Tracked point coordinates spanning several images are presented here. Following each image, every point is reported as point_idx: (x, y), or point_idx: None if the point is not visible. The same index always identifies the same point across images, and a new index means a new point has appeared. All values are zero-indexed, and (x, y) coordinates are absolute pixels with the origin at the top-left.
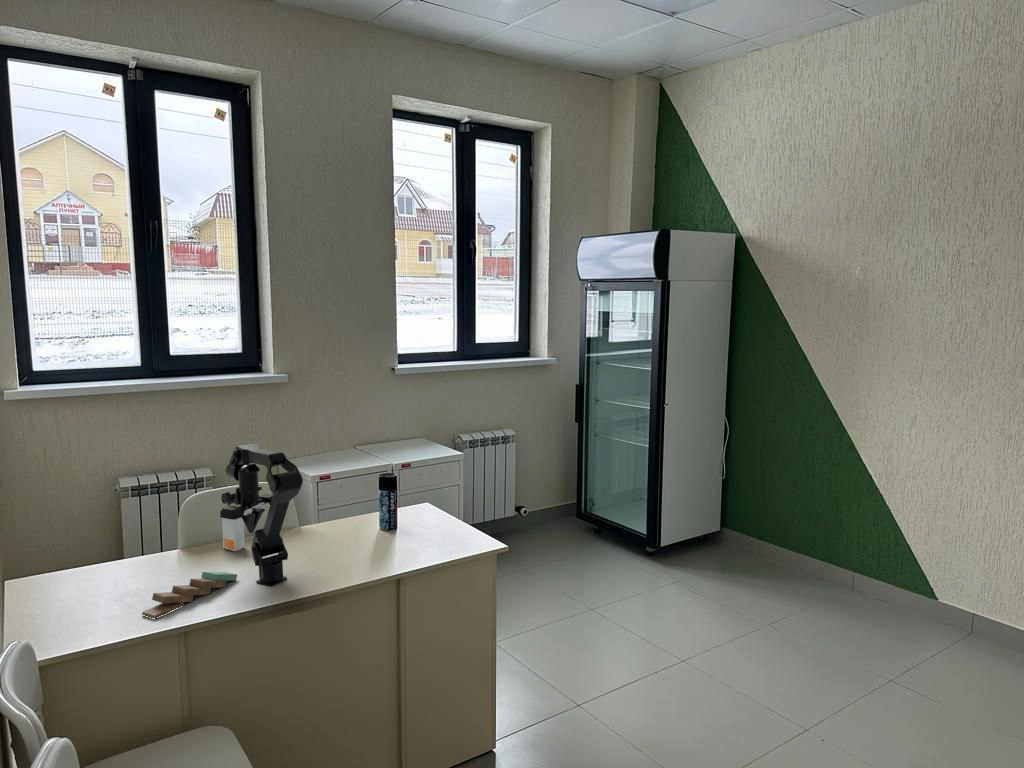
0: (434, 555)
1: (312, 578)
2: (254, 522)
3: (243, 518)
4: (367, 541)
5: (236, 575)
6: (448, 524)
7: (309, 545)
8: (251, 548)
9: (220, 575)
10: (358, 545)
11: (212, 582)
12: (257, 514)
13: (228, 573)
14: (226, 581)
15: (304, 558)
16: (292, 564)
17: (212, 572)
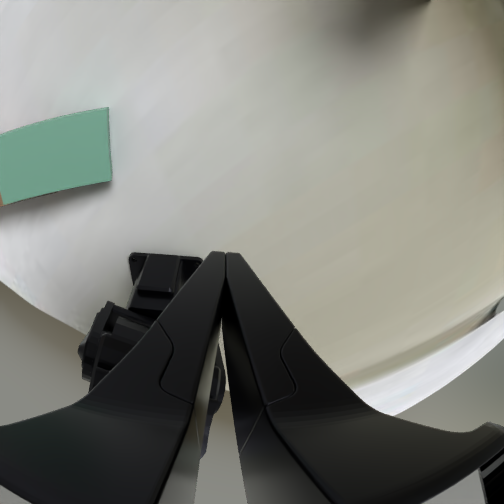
0: (372, 403)
1: None
2: (230, 390)
3: (108, 404)
4: (457, 316)
5: (107, 180)
6: (481, 354)
7: (465, 217)
8: (86, 340)
9: (26, 196)
10: (441, 316)
11: (3, 204)
12: (247, 488)
13: (82, 161)
14: (57, 191)
15: (371, 262)
16: (316, 259)
17: (20, 149)
